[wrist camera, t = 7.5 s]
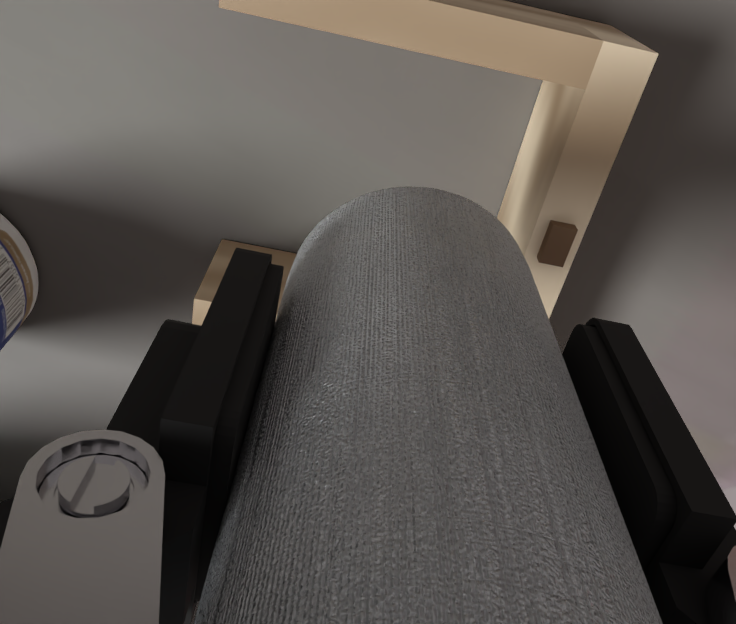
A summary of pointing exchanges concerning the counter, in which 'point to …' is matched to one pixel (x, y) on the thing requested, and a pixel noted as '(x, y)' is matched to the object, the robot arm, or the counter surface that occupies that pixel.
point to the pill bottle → (15, 280)
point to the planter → (419, 441)
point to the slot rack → (547, 123)
